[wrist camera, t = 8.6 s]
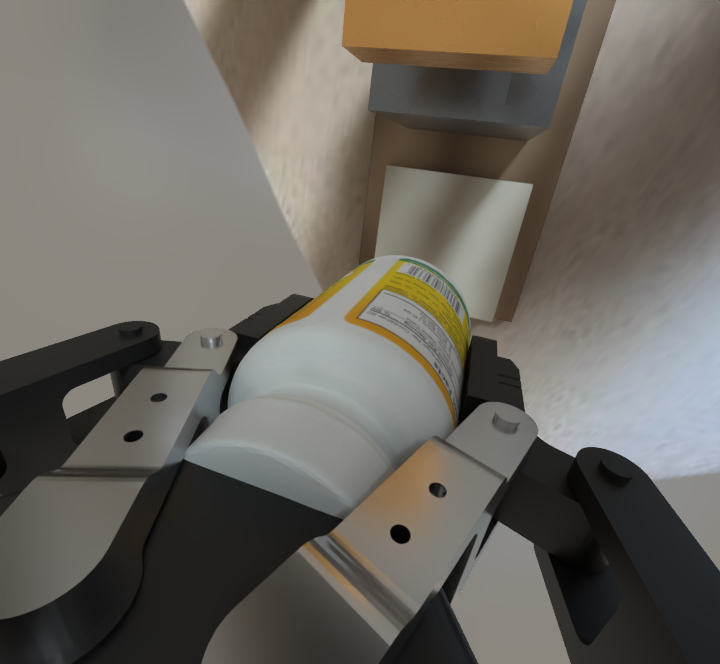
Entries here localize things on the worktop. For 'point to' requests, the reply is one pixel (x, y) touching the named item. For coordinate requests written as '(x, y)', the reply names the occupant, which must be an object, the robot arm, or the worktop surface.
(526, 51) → the plunger
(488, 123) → the open box
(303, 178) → the worktop surface
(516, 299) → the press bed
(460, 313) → the supplement bottle
